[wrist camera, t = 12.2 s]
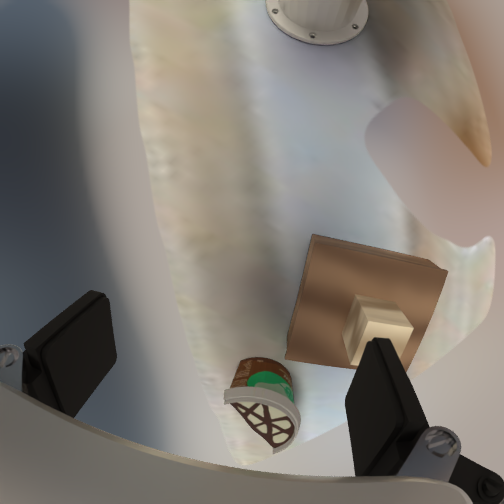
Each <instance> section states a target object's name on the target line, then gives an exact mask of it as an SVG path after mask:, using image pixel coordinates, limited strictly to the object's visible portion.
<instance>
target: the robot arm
mask: <svg viewBox="0 0 504 504" xmlns="http://www.w3.org/2000/svg"><path fill="white" fill-rule="evenodd" d="M266 8H267V11H268V14H269V16H270V18H271V19H272V21H273V22H274V23H275V24H276V26H277V27H278V28H279V29H281V30H282V31H283V32H285V33H286V34H288V35H290V36H291V37H293V38H295V39H298V40H301V41H303V42H307V43H312V44H320V45H332V44H338V43H343V42H345V41H348V40H350V39H352V38H353V37H355V36H356V35H358V34H359V33H360V32H361V30H362V29H363V28H364V26H365V24H366V22H367V19H368V13H369V9H368V4H367V1H366V0H266ZM274 13H277V14H274ZM353 28H354V29H353ZM310 37H314V38H310ZM24 346H25V349H26V350H25V351H24V352H22V351H21V349H20V348H19V347H17V346H15V345H2V346H0V504H504V481H503V479H502V478H501V477H500V476H499V475H498V474H496V473H495V472H493V471H491V470H489V469H487V468H485V467H483V466H481V465H479V464H477V463H475V462H473V461H471V460H470V459H468V458H466V457H464V456H462V455H460V452H461V442H460V440H459V438H458V436H457V435H456V434H455V433H454V432H453V431H451V430H450V429H448V428H445V427H442V426H433V427H429V425H428V422H427V420H426V417H425V415H424V412H423V410H422V407H421V405H420V403H419V400H418V398H417V395H416V393H415V391H414V389H413V386H412V384H411V382H410V379H409V378H408V376H407V374H406V372H405V369H404V367H403V365H402V363H401V361H400V359H399V356H398V354H397V352H396V350H395V348H394V346H393V344H392V342H391V340H390V339H389V338H379V337H374V338H373V339H372V341H368V342H367V343H366V346H365V349H364V352H363V354H362V357H361V360H360V362H359V365H358V368H357V370H356V373H355V375H354V378H353V380H352V383H351V385H350V388H349V390H348V392H347V395H346V398H345V408H346V414H347V421H348V427H349V433H350V440H351V447H352V453H353V461H354V469H355V476H356V477H331V476H306V475H290V474H278V473H269V472H261V471H253V470H246V469H240V468H234V467H228V466H222V465H217V464H212V463H208V462H203V461H198V460H194V459H190V458H186V457H181V456H178V455H174V454H170V453H166V452H163V451H160V450H157V449H153V448H150V447H147V446H143V445H141V444H138V443H135V442H132V441H129V440H126V439H123V438H120V437H118V436H115V435H112V434H110V433H107V432H104V431H102V430H100V429H97V428H94V427H92V426H90V425H88V424H85V423H83V422H81V421H78V420H76V419H74V417H75V416H76V414H77V413H78V412H79V410H80V409H81V408H82V406H83V405H84V404H85V402H86V401H87V400H88V398H89V397H90V396H91V394H92V393H93V392H94V390H95V389H96V388H97V386H98V385H99V383H100V382H101V381H102V380H103V378H104V377H105V376H106V374H107V373H108V372H109V371H110V369H111V368H112V367H113V365H114V364H115V362H116V358H117V353H116V347H115V341H114V334H113V327H112V319H111V310H110V302H109V299H108V298H106V295H105V294H104V293H101V292H97V291H93V290H90V291H89V292H87V293H86V294H85V295H83V296H82V297H81V298H79V299H78V300H77V301H75V302H74V303H73V304H72V305H70V306H69V307H68V308H67V309H65V310H64V311H63V312H61V313H60V314H59V315H58V316H56V317H55V318H54V319H53V320H51V321H50V322H49V323H48V324H47V325H45V326H44V327H43V328H42V329H40V330H39V331H38V332H37V333H36V334H34V335H33V336H32V337H31V338H30V339H28V340H27V341H26V342H25V343H24Z"/></svg>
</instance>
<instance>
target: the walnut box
mask: <svg viewBox="0 0 504 504" xmlns="http://www.w3.org/2000/svg"><path fill="white" fill-rule="evenodd" d="M447 274H448V271H447V270H444V269H441V268H439V267H438V266H437V265H435V264H434V263H433V262H431V261H430V260H428V259H424V258H419V257H415V256H411V255H406V254H402V253H398V252H393V251H389V250H384V249H380V248H376V247H371V246H366V245H362V244H357V243H353V242H348V241H343V240H339V239H334V238H329V237H324V236H319V235H315V234H312V238H311V242H310V246H309V251H308V255H307V259H306V264H305V268H304V272H303V276H302V280H301V285H300V289H299V293H298V297H297V301H296V304H295V308H294V312H293V316H292V320H291V324H290V327H289V331H288V335H287V351H286V354H285V359H286V360H292V361H298V362H304V363H311V364H318V365H325V366H332V367H340V368H349V369H357V368H358V366H357V365H350V361H349V358H348V354H347V350H346V347H345V343H344V340H343V337H342V331H343V329H344V326H345V323H346V320H347V317H348V314H349V312H350V309H351V306H352V303H353V300H354V297H355V294H356V295H361V296H366V297H372V298H377V299H382V300H387V301H393V302H396V304H397V305H398V307H399V308H400V309H401V311H402V312H403V314H404V315H405V316H406V318H407V319H408V321H409V322H410V323H411V325H412V326H413V328H414V329H413V331H412V333H411V336H410V338H409V340H408V342H407V344H406V347H405V349H404V351H403V353H402V355H401V357H400V361H401V363H402V365H403V367H404V369H405V372H407V370H408V368H409V366H410V364H411V362H412V360H413V358H414V356H415V353H416V351H417V349H418V347H419V345H420V343H421V340H422V338H423V336H424V334H425V331H426V329H427V327H428V324H429V322H430V320H431V317H432V315H433V312H434V310H435V307H436V305H437V302H438V299H439V297H440V294H441V291H442V288H443V285H444V283H445V280H446V277H447Z"/></svg>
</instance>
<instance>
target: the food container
mask: <svg viewBox="0 0 504 504" xmlns="http://www.w3.org/2000/svg"><path fill="white" fill-rule="evenodd" d="M224 400H225V402H224V405H225V404H229V403H230V404H231V405H232V406H233V407H234V408H235V409H236V410H237V411H238V412H239V413H240V414H241V416H242V417H243V418H244V419H245V421H246V422H247V423H248V425H249V426H250V427H251V428H252V429H253V430H254V431H255V432H256V433H258V434H259V435H260V436H262V437H263V438H264V439H265V440H266V441H267V442H268V443H269V444H270V445H271V446H272V447H273V454H275V453H278V452H280V451H282V450H284V449H286V448H287V447H288V446H289V445H290V444H291V443H292V442H293V441H294V439H295V437H296V436H297V433H298V430H299V427H300V422H301V417H300V413H299V410H298V409H297V407H296V406H295V405H294V399H293V389H292V381H291V377H290V373H289V372H288V370H287V369H286V368H285V367H284V366H283V365H282V364H280V363H278V362H277V361H274V360H272V359H268V358H262V357H255V358H248V359H244V360H241V361H240V364H239V366H238V369H237V371H236V374H235V376H234V379H233V381H232V384H231V386H230V389H226V390H224Z"/></svg>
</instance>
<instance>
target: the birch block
mask: <svg viewBox="0 0 504 504" xmlns="http://www.w3.org/2000/svg"><path fill="white" fill-rule="evenodd" d="M413 329H414V328H413V326H412V325H411V323H410V322H409V321H408V319H407V318H406V316H405V315H404V314H403V312H402V311H401V309H400V308H399V307H398V305H397V304H396V302H393V301H387V300H382V299H377V298H372V297H366V296H361V295H356V294H355V297H354V300H353V303H352V306H351V309H350V312H349V314H348V317H347V320H346V323H345V326H344V329H343V331H342V337H343V340H344V343H345V347H346V350H347V354H348V358H349V361H350V365H357V366H358V365H359V362H360V360H361V357H362V354H363V352H364V349H365V346H366V343H367V342H368V341H372V339H373V338H374V337H379V338H389V339H390V340H391V342H392V344H393V346H394V348H395V350H396V352H397V354H398V356H399V359H400V357H401V355H402V353H403V351H404V349H405V347H406V344H407V342H408V340H409V338H410V336H411V333H412V331H413Z"/></svg>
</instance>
